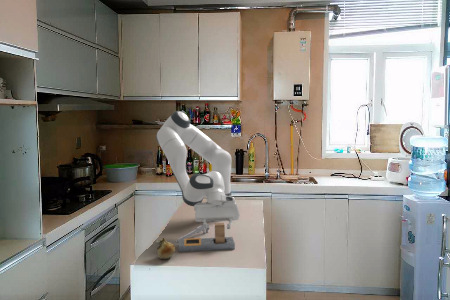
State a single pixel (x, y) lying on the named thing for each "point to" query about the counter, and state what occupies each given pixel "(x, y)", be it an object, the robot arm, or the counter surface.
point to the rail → (205, 244)
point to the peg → (219, 233)
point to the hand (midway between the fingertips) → (218, 228)
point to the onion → (165, 249)
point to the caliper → (197, 230)
